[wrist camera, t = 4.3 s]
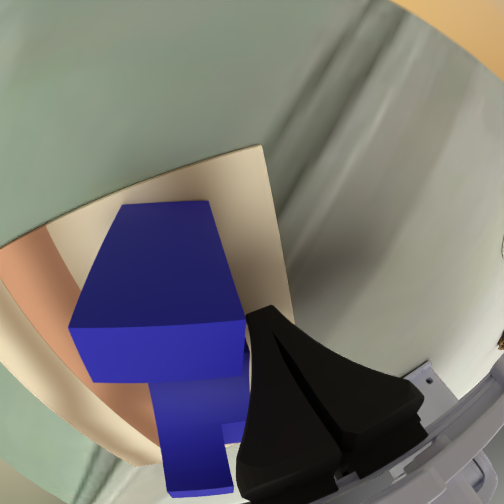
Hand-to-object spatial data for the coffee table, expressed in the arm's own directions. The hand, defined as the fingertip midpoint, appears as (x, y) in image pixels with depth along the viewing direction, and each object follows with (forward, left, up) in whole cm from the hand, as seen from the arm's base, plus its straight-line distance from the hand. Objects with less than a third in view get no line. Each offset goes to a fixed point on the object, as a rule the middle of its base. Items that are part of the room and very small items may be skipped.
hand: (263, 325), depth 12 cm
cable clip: (+3, 0, -1) cm, 3 cm away
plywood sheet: (+6, +4, -1) cm, 7 cm away
